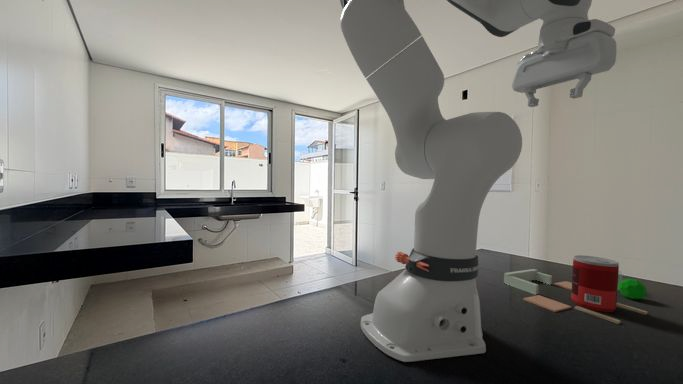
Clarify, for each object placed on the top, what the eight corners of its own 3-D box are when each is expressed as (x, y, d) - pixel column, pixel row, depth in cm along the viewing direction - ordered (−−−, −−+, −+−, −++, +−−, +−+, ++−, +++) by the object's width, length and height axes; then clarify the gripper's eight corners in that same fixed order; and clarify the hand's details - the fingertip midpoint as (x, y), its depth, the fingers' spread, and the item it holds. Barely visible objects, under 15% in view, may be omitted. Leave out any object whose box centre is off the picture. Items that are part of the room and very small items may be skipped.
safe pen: (535, 294, 72) (536, 283, 71) (503, 283, 79) (504, 273, 79) (565, 288, 77) (566, 278, 77) (532, 278, 85) (533, 268, 85)
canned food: (626, 313, 62) (629, 264, 62) (589, 312, 62) (592, 263, 62) (595, 299, 70) (598, 255, 69) (563, 298, 70) (565, 254, 70)
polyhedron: (645, 299, 71) (647, 280, 71) (646, 304, 68) (647, 284, 68) (618, 293, 75) (619, 275, 75) (617, 297, 72) (618, 279, 72)
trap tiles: (554, 312, 62) (555, 310, 62) (506, 293, 72) (506, 291, 72) (615, 296, 72) (615, 295, 72) (565, 282, 82) (566, 281, 82)
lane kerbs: (617, 323, 57) (617, 321, 57) (550, 300, 68) (550, 298, 68) (647, 314, 62) (647, 311, 62) (580, 293, 74) (580, 291, 74)
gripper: (510, 54, 73) (503, 108, 74) (607, 15, 54) (596, 87, 55) (527, 61, 75) (519, 112, 76) (625, 25, 56) (615, 94, 57)
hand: (552, 102), depth 65 cm, fingers open, 8 cm apart
